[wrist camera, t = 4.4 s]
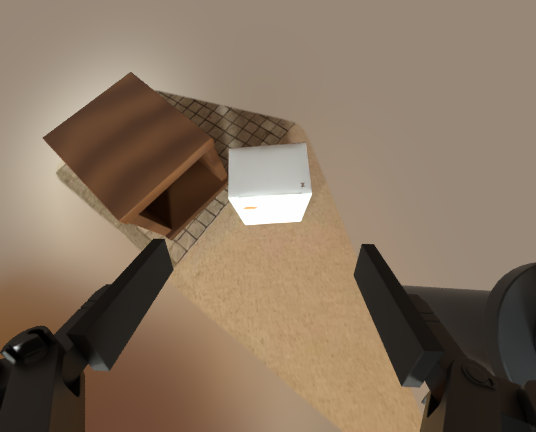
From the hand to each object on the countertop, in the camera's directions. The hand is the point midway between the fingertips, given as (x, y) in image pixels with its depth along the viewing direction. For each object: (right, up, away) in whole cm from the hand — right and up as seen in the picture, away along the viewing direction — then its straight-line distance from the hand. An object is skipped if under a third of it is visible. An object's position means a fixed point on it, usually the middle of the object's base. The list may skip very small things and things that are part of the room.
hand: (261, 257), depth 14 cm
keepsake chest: (-14, +8, +17) cm, 24 cm away
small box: (+1, +4, +16) cm, 16 cm away
